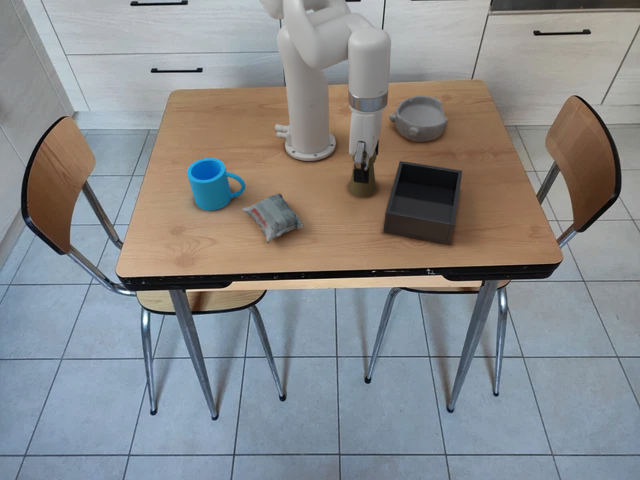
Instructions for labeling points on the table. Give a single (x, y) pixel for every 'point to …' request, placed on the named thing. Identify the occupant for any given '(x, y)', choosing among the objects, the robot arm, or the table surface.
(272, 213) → the packaged food
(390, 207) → the open box
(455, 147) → the table surface
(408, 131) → the dish
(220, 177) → the mug
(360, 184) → the olive pawn
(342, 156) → the table surface
